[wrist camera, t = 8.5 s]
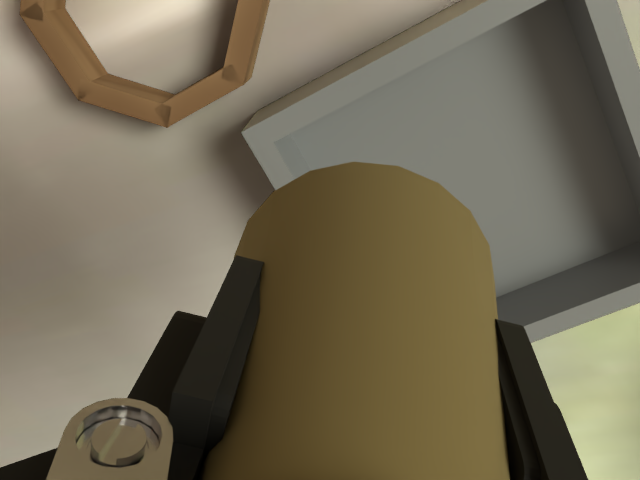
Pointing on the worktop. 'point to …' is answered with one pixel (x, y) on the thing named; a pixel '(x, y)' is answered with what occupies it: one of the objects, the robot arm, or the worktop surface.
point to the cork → (367, 336)
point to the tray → (497, 142)
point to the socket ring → (130, 97)
